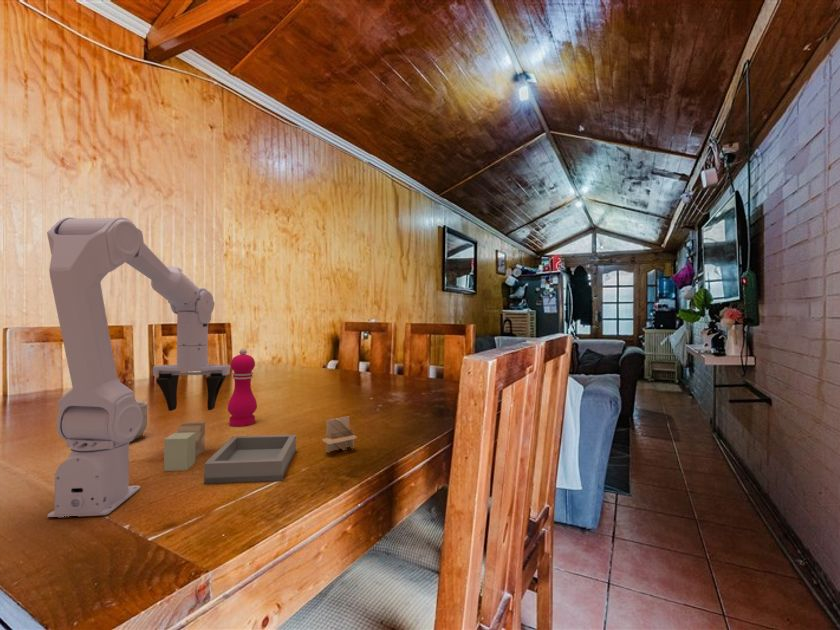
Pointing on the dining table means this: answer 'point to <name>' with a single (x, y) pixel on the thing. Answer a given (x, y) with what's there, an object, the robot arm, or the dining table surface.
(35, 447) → the dining table surface
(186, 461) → the sage block
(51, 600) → the dining table surface
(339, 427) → the architectural model
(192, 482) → the dining table surface
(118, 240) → the robot arm
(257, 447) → the tray
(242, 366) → the pepper mill
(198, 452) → the brown metal block
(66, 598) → the dining table surface
